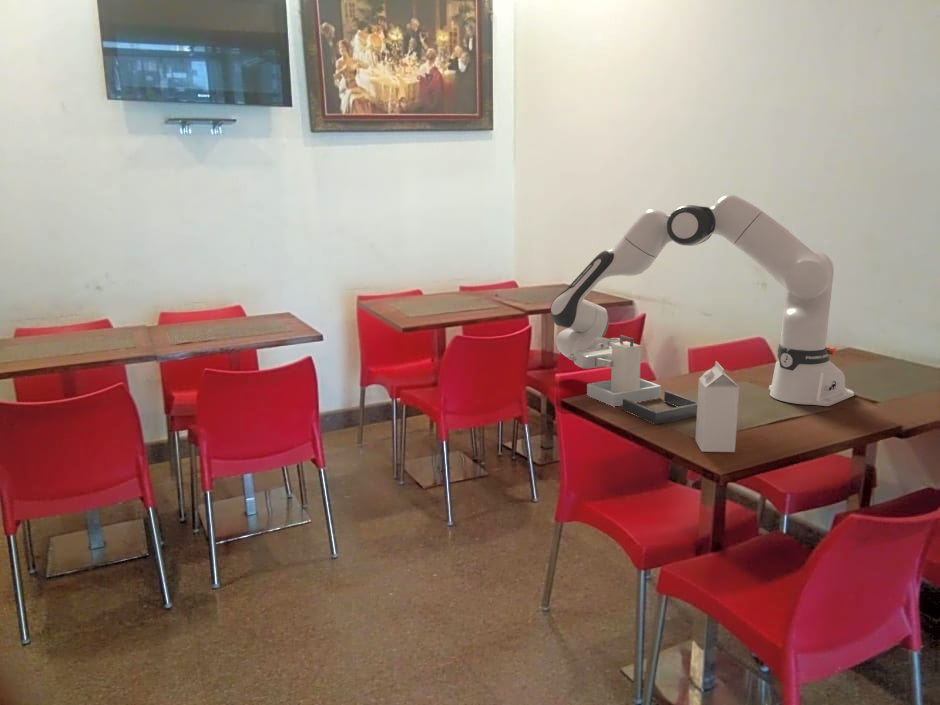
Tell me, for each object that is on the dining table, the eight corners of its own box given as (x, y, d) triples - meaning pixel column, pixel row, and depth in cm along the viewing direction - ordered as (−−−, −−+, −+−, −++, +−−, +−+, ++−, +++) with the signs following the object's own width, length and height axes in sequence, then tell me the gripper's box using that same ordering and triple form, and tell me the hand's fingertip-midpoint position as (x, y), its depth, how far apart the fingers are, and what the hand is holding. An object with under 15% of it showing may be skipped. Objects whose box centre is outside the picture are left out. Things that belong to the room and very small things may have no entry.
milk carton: (727, 441, 164) (732, 361, 160) (735, 453, 157) (740, 369, 153) (695, 441, 165) (699, 361, 160) (701, 452, 158) (706, 369, 154)
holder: (667, 401, 194) (667, 390, 193) (702, 414, 183) (702, 403, 182) (622, 410, 188) (622, 399, 187) (655, 424, 176) (656, 413, 176)
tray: (632, 387, 207) (633, 375, 206) (660, 398, 197) (661, 385, 196) (587, 395, 200) (587, 383, 200) (613, 407, 190) (613, 394, 189)
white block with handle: (625, 389, 202) (626, 333, 198) (639, 395, 196) (641, 337, 193) (610, 392, 200) (612, 336, 196) (624, 398, 194) (626, 340, 190)
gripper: (565, 345, 203) (594, 355, 191) (623, 337, 211) (654, 346, 199) (564, 367, 204) (593, 378, 192) (622, 358, 213) (654, 368, 201)
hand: (625, 362), depth 196 cm, fingers open, 8 cm apart
